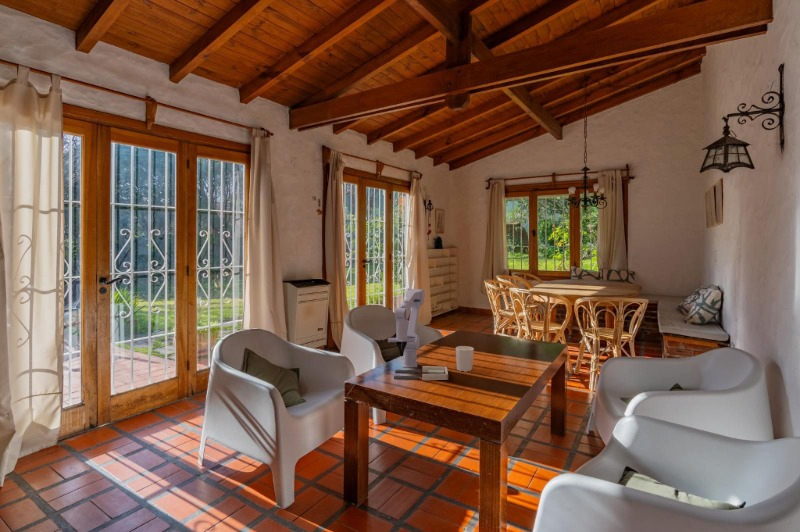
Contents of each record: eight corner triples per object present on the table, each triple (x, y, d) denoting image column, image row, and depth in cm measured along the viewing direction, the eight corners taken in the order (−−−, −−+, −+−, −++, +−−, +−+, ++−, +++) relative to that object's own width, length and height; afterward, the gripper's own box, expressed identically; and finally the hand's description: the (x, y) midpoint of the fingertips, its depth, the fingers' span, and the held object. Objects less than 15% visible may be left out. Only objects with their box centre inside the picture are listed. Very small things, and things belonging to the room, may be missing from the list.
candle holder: (452, 368, 237) (452, 346, 236) (467, 366, 240) (468, 345, 240) (460, 373, 228) (461, 351, 227) (476, 371, 231) (477, 349, 231)
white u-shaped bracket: (422, 371, 230) (422, 366, 230) (446, 372, 230) (446, 366, 230) (422, 380, 216) (422, 374, 216) (448, 380, 216) (448, 375, 216)
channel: (395, 371, 230) (395, 369, 230) (419, 372, 229) (419, 370, 229) (393, 379, 218) (393, 376, 218) (419, 379, 218) (419, 377, 217)
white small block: (428, 375, 225) (428, 369, 225) (436, 375, 225) (436, 369, 225) (428, 377, 221) (428, 372, 221) (436, 377, 221) (436, 372, 221)
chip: (436, 375, 225) (436, 369, 225) (443, 375, 224) (443, 370, 224) (436, 377, 221) (436, 372, 221) (443, 378, 221) (444, 372, 220)
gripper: (387, 331, 223) (387, 357, 224) (415, 332, 222) (415, 358, 223) (388, 329, 230) (388, 353, 231) (415, 329, 229) (415, 354, 230)
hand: (401, 355), depth 227 cm, fingers closed
